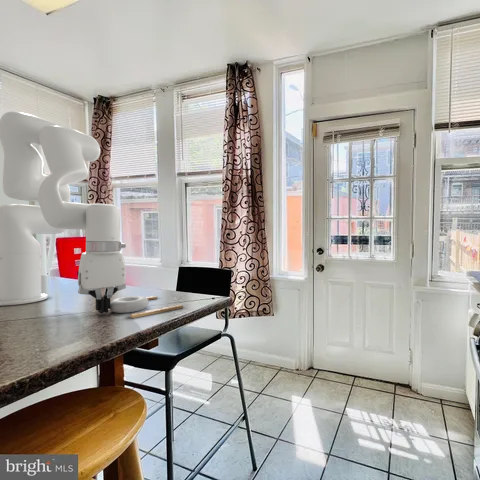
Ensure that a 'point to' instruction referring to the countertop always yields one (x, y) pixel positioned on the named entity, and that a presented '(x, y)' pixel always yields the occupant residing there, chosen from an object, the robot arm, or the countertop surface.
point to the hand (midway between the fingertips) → (102, 311)
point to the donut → (129, 304)
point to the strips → (155, 309)
